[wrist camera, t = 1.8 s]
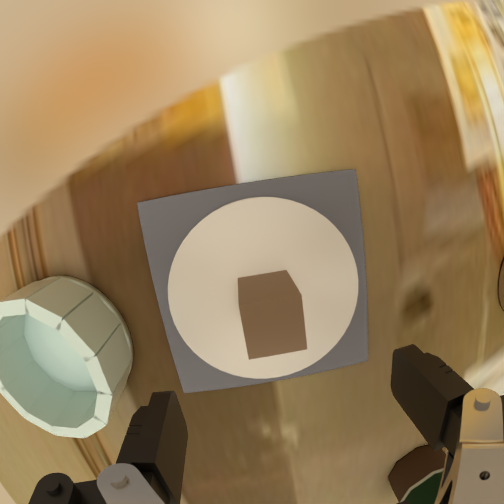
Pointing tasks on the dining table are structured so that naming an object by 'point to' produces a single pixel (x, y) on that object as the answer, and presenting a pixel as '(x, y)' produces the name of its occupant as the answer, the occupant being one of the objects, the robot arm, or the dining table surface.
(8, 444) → the dining table surface
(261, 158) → the dining table surface
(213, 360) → the lid
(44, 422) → the bowl
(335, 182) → the mat
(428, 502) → the beer bottle
